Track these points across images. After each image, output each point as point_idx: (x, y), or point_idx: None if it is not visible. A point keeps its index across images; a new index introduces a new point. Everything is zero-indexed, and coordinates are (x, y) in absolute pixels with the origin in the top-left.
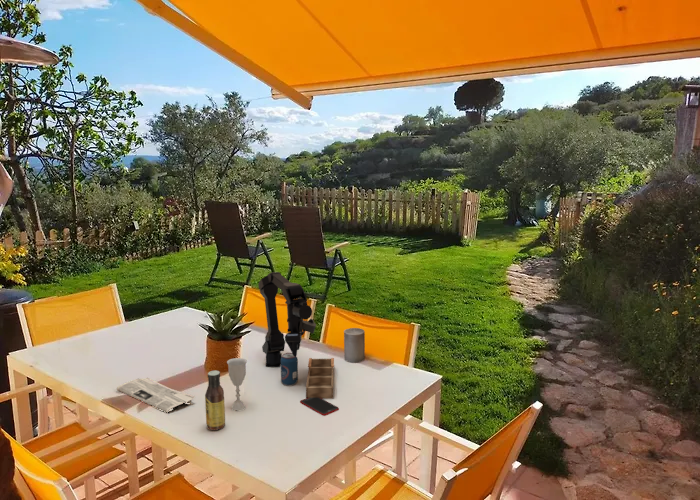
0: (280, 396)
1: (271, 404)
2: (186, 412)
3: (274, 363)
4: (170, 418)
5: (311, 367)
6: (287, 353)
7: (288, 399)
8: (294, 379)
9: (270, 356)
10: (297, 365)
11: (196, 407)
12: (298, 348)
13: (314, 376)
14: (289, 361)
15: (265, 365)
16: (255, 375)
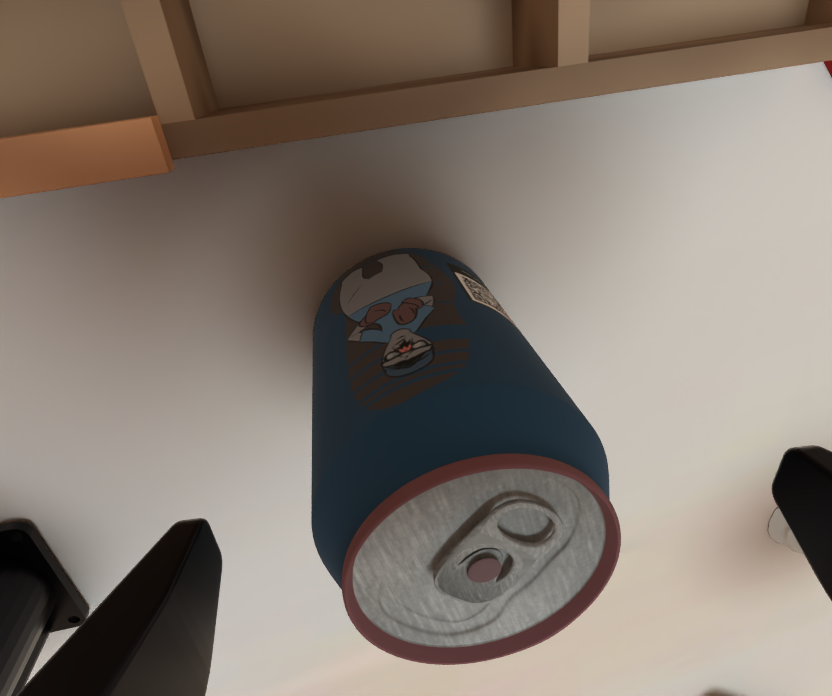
0: (695, 318)
1: (820, 343)
2: (791, 674)
3: (27, 586)
4: (829, 692)
5: (164, 102)
6: (370, 623)
7: (766, 234)
8: (477, 279)
9: (8, 690)
10: (442, 328)
11: (750, 667)
12: (200, 554)
13: (226, 36)
14: (606, 478)
15: (79, 625)
16: (297, 607)
